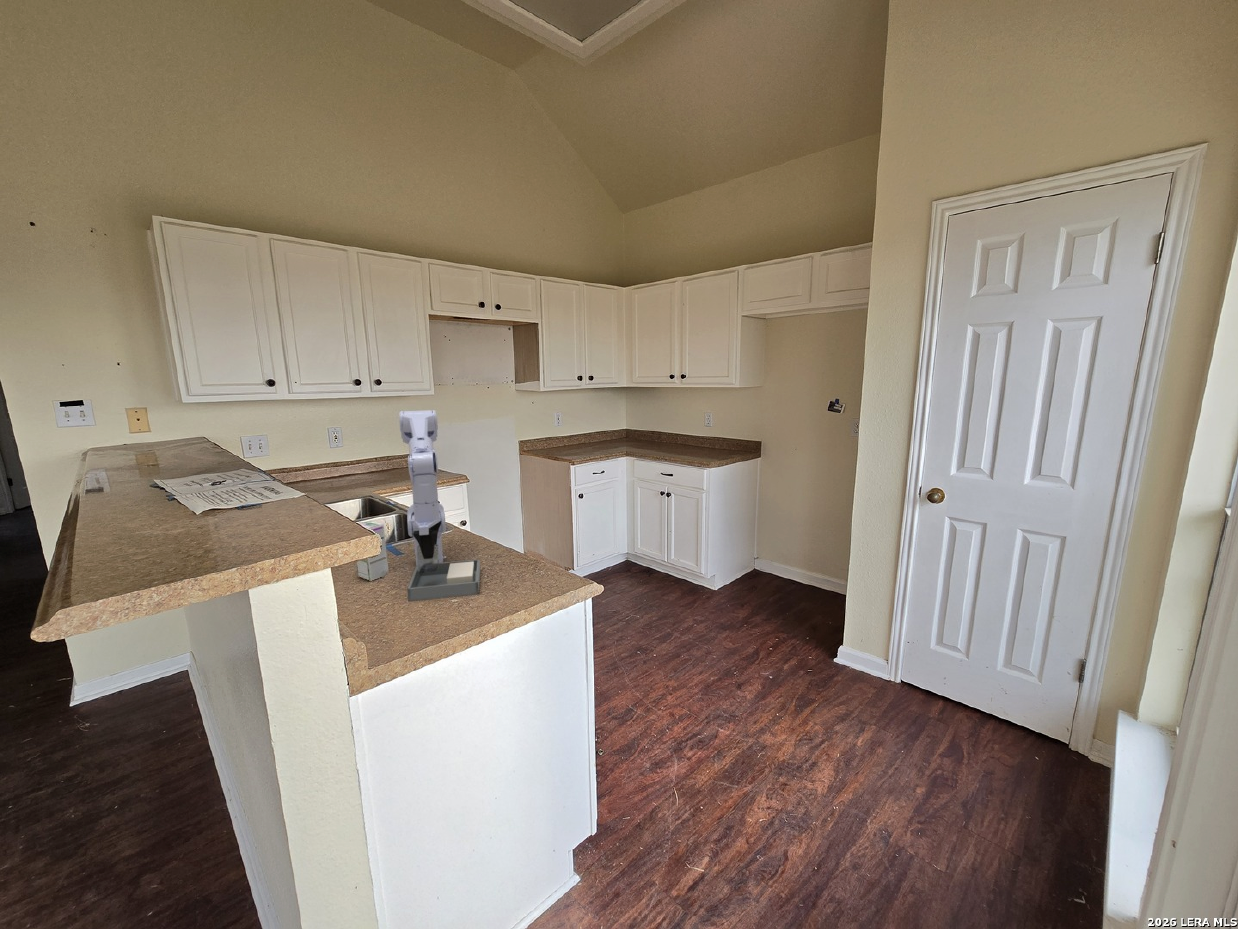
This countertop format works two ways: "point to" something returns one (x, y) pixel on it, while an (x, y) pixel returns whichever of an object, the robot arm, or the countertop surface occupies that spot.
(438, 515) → the robot arm
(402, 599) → the countertop surface
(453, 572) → the block
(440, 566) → the tote
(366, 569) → the syrup box
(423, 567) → the metal can
